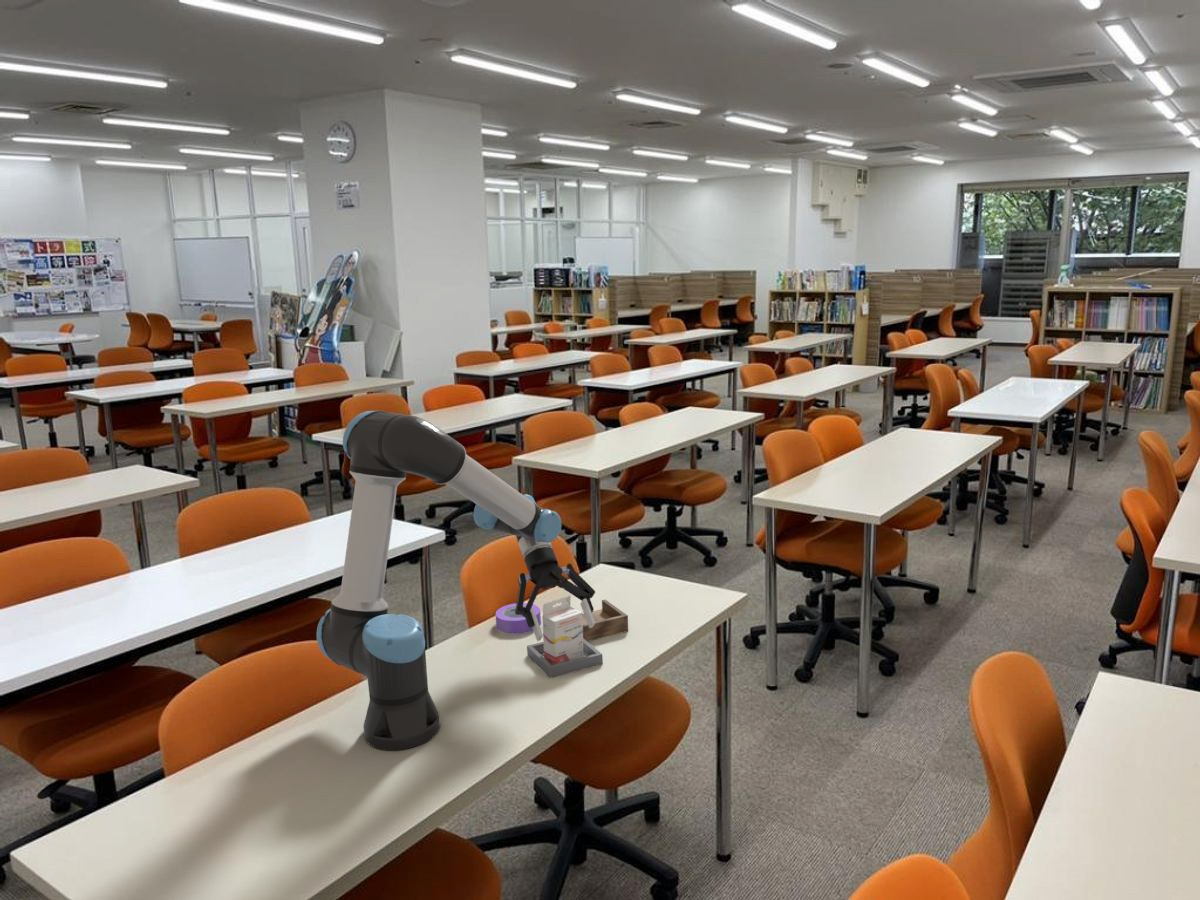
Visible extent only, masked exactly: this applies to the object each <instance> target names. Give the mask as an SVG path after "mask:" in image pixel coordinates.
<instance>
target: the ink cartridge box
mask: <svg viewBox="0 0 1200 900" xmlns="http://www.w3.org/2000/svg"><path fill="white" fill-rule="evenodd" d="M557 604H560V605H557ZM556 605H557V606H556ZM553 606H554V607H553ZM582 614H583V611H581V610H578V609H577V608H574V607H572V606H571V596H570V595H566V596H564V597H560V598H557V599H554V600H552V601H548V602H545V603H543V605H542V634H543V637H542V639H543V640H542V642H544V653H543V657H544V658H545V659H546V660H547V661H548V662H549V663H550V664H551V665H555V664H558V663H562V662H566V661H570V660H574V659H578V658H582V657H585V653H584V652H583V616H582Z"/></svg>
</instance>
